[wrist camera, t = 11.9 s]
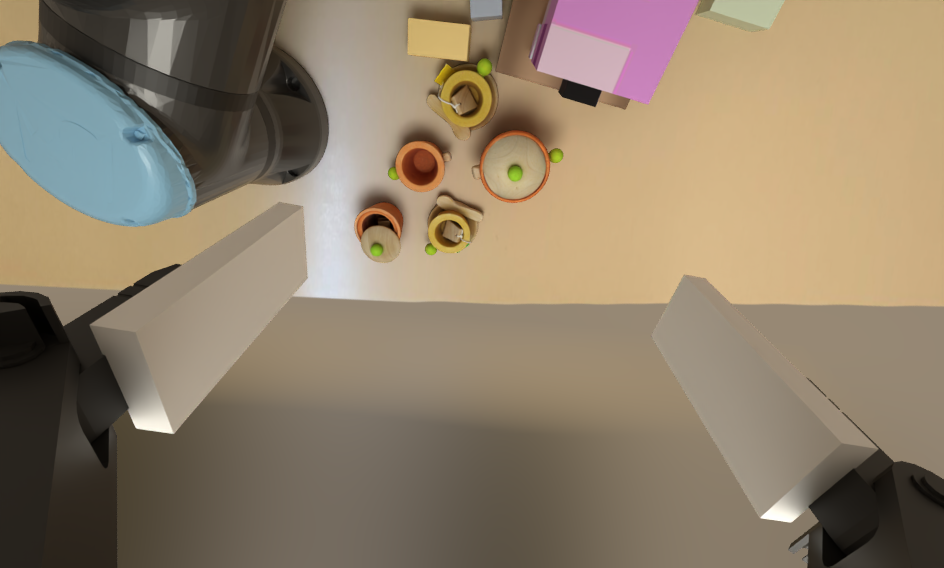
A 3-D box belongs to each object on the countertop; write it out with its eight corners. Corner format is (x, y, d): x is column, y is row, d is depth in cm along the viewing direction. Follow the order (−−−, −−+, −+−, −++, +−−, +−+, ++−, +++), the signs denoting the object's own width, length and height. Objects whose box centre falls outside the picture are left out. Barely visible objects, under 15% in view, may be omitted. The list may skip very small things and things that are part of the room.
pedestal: (495, 71, 40) (495, 71, 37) (531, -76, 34) (534, -88, 31) (617, 107, 41) (625, 109, 38) (673, -29, 35) (687, -38, 32)
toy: (563, -69, 31) (598, -129, 19) (650, -40, 32) (738, -80, 20) (523, 70, 37) (529, 92, 25) (596, 92, 38) (638, 124, 26)
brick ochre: (413, 55, 40) (407, 54, 37) (414, 21, 38) (408, 17, 36) (468, 61, 40) (466, 61, 37) (471, 28, 38) (469, 24, 36)
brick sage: (694, 15, 36) (709, 10, 34) (711, -23, 35) (729, -31, 32) (749, 32, 37) (769, 29, 34) (769, -5, 35) (790, -11, 33)
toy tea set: (465, 37, 39) (456, 28, 30) (569, 137, 43) (587, 152, 34) (346, 219, 50) (316, 249, 41) (438, 284, 54) (428, 323, 46)
